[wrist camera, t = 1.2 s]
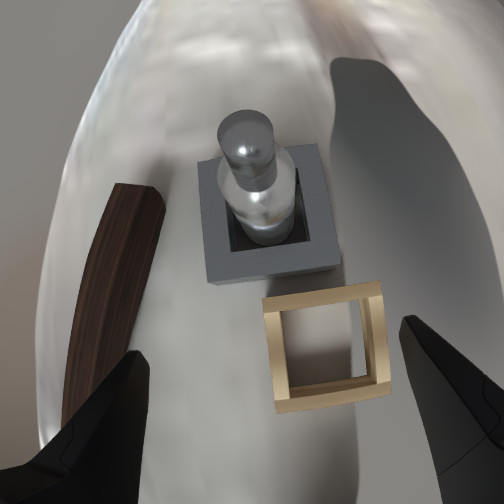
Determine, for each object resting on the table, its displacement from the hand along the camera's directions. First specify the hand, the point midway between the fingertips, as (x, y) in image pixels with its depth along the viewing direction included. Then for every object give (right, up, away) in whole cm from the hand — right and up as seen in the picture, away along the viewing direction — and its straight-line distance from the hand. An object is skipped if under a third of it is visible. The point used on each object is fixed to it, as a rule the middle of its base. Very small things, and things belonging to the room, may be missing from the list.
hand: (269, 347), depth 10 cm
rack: (+5, -4, +12) cm, 14 cm away
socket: (+1, +5, +15) cm, 16 cm away
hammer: (-12, -7, +14) cm, 20 cm away
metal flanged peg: (+1, +5, +15) cm, 16 cm away
